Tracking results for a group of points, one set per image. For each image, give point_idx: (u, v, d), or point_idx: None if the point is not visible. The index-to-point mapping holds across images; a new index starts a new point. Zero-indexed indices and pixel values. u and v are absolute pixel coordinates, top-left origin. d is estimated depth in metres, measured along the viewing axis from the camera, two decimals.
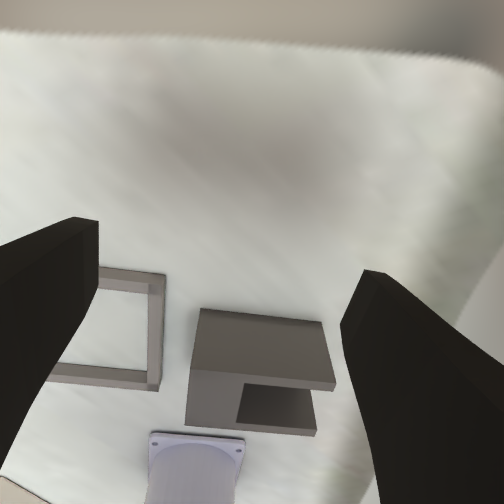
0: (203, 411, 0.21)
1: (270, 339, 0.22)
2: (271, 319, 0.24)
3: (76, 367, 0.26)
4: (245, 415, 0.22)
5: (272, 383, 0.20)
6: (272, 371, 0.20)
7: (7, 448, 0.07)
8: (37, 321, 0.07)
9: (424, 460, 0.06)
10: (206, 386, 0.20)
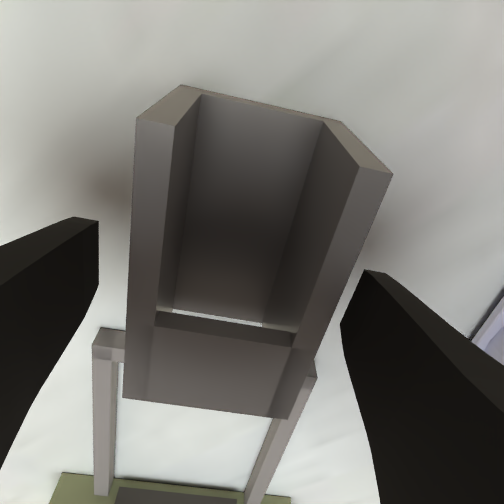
0: (246, 392, 0.11)
1: None
2: None
3: (267, 438, 0.19)
4: (295, 317, 0.10)
5: (152, 276, 0.08)
6: None
7: (7, 447, 0.07)
8: (37, 321, 0.07)
9: (424, 460, 0.06)
10: (169, 381, 0.10)
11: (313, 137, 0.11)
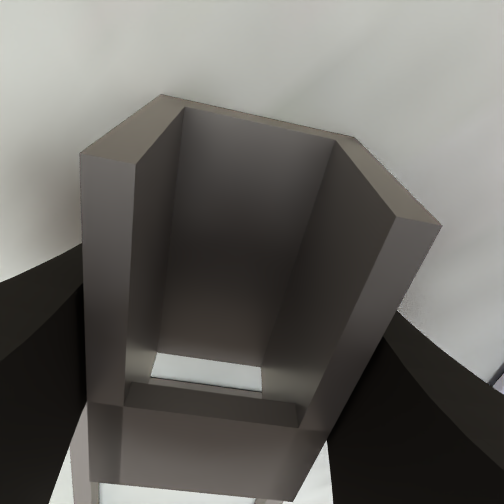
0: (242, 474, 0.09)
1: None
2: None
3: None
4: (303, 388, 0.08)
5: (117, 350, 0.06)
6: None
7: (64, 454, 0.07)
8: None
9: (369, 453, 0.06)
10: (147, 464, 0.08)
11: (323, 159, 0.09)
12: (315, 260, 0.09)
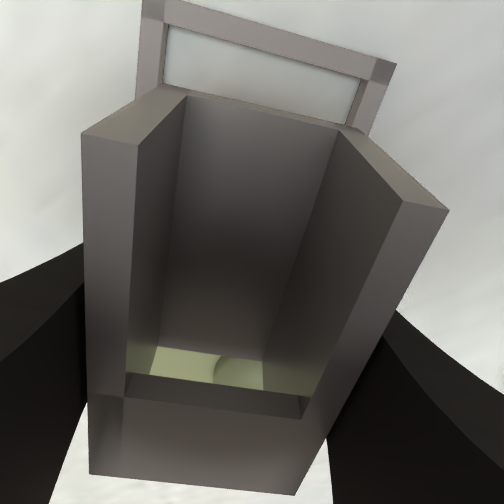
0: (243, 467, 0.08)
1: None
2: None
3: None
4: (305, 379, 0.08)
5: (117, 339, 0.06)
6: None
7: (64, 453, 0.07)
8: None
9: (369, 453, 0.06)
10: (147, 457, 0.08)
11: (326, 149, 0.09)
12: (318, 251, 0.09)
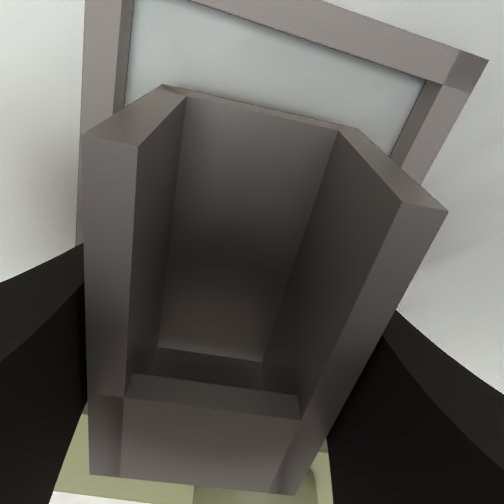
0: (243, 467, 0.08)
1: None
2: None
3: None
4: (305, 380, 0.08)
5: (117, 339, 0.06)
6: None
7: (64, 454, 0.07)
8: None
9: (369, 453, 0.06)
10: (147, 457, 0.08)
11: (325, 150, 0.09)
12: (318, 252, 0.09)
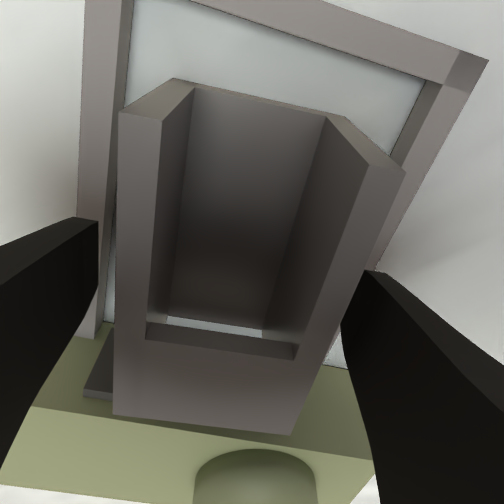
0: (245, 407, 0.10)
1: None
2: None
3: None
4: (297, 327, 0.09)
5: (141, 286, 0.08)
6: None
7: (7, 448, 0.07)
8: (37, 321, 0.07)
9: (424, 460, 0.06)
10: (163, 397, 0.10)
11: (315, 133, 0.10)
12: (308, 221, 0.10)
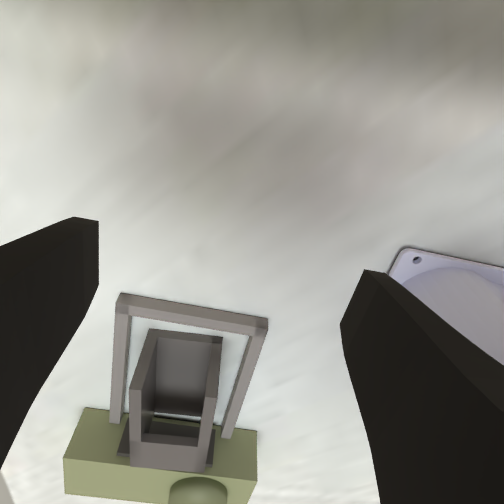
0: (182, 462, 0.24)
1: None
2: None
3: (237, 378, 0.27)
4: (199, 433, 0.24)
5: (138, 426, 0.22)
6: None
7: (7, 448, 0.07)
8: (37, 321, 0.07)
9: (424, 460, 0.06)
10: (149, 460, 0.24)
11: (208, 348, 0.25)
12: (205, 387, 0.24)
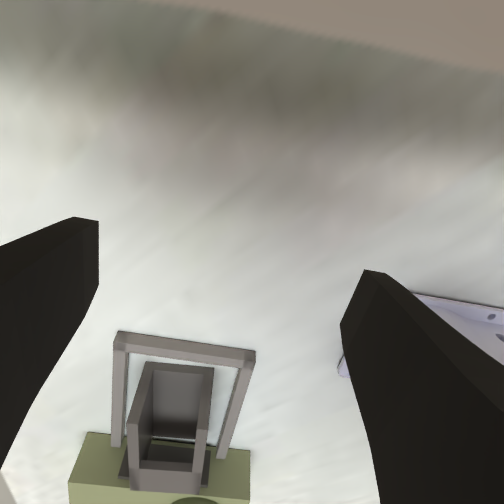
0: (179, 486, 0.26)
1: None
2: None
3: (229, 404, 0.29)
4: None
5: (136, 455, 0.24)
6: None
7: (7, 448, 0.07)
8: (37, 321, 0.07)
9: (424, 460, 0.06)
10: (148, 484, 0.26)
11: (201, 379, 0.27)
12: None
